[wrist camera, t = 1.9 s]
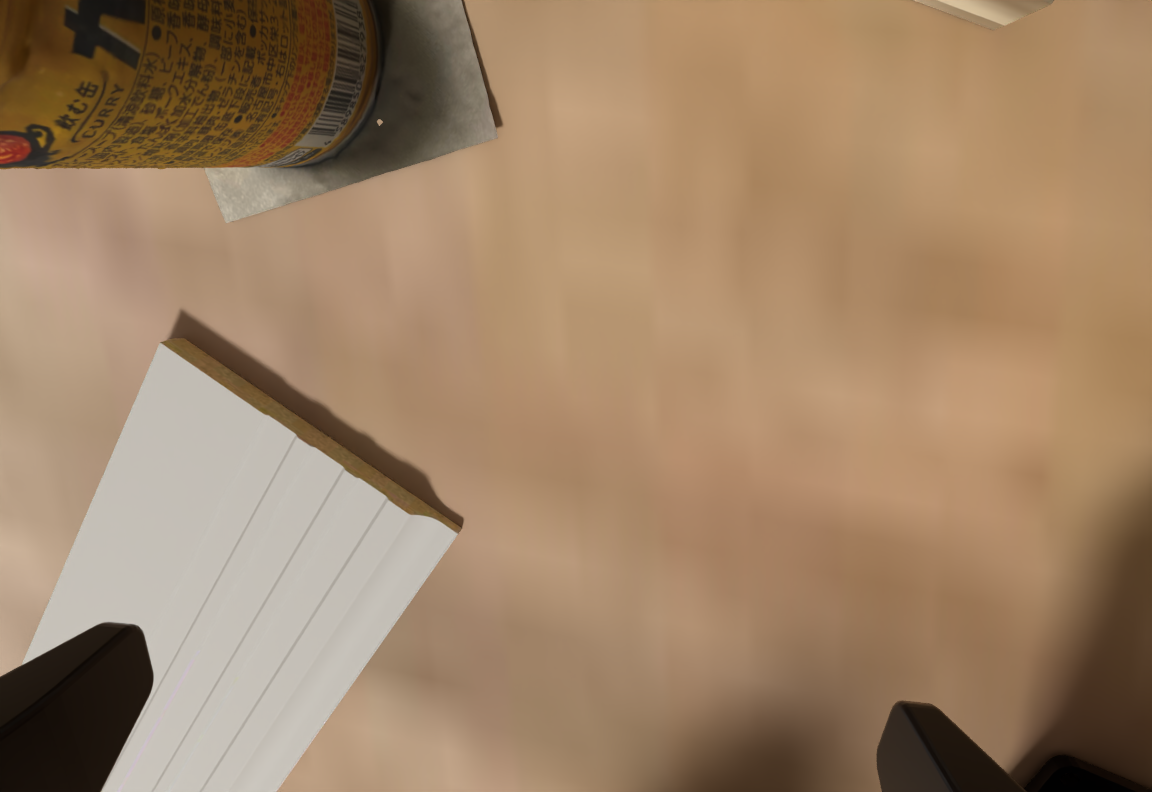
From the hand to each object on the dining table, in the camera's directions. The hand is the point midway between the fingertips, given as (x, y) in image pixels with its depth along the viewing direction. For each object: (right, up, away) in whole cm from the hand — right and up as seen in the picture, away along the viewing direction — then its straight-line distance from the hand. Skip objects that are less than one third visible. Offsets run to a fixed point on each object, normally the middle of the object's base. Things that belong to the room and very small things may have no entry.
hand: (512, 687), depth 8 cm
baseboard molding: (-15, -10, +20) cm, 27 cm away
